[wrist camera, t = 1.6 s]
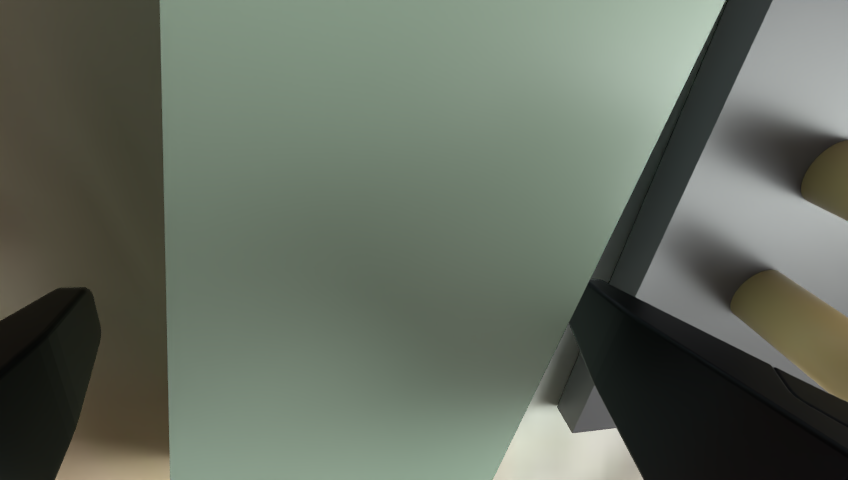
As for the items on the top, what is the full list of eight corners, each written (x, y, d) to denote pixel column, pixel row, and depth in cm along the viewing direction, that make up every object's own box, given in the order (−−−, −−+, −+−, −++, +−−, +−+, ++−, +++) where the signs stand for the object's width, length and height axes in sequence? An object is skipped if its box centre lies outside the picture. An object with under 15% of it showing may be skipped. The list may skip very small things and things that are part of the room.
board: (410, 437, 15) (445, 576, 12) (202, 447, 13) (173, 618, 10) (585, -83, 8) (774, -101, 5) (221, -216, 7) (151, -380, 3)
